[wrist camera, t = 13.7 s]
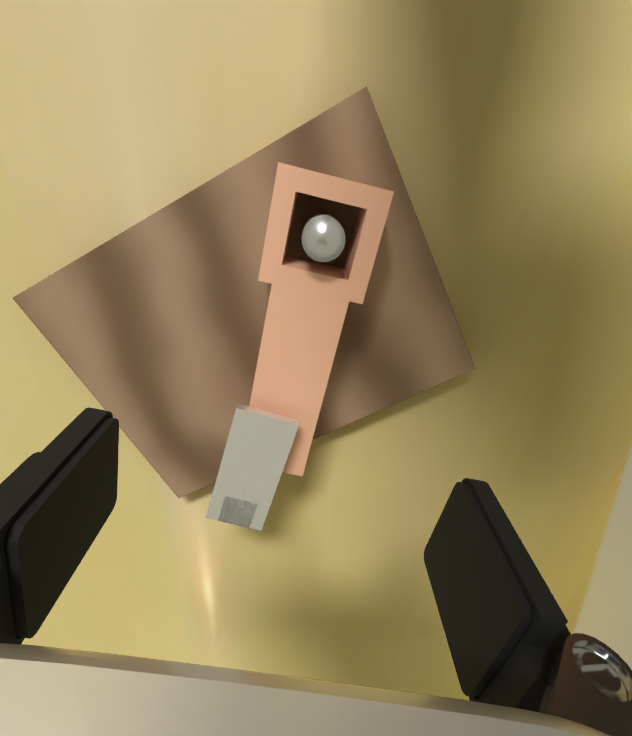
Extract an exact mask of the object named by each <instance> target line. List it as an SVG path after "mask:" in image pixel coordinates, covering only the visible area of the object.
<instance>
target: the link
mask: <svg viewBox="0 0 632 736" xmlns="http://www.w3.org/2000/svg"><path fill="white" fill-rule="evenodd" d="M298 192H300V193H304V194H308V195H312V196H316V197H320V198H324V199H328V200H332V201H336V202H340V203H344V204H348V205H352V206H356V207H359V210H358V214H357V218H356V222H355V226H354V230H353V234H352V237H351V241H350V245H349V249H348V253H347V257H346V261H345V265H344V269H343V268H339V267H335V266H330V265H326V264H322V263H318V262H313V261H309V260H305V259H300V258H296V257H292V256H287V255H286V252H287V247H288V242H289V237H290V232H291V227H292V221H293V216H294V211H295V206H296V201H297V196H298ZM393 194H394V191H390V190H386V189H382V188H378V187H374V186H370V185H366V184H362V183H358V182H354V181H350V180H346V179H343V178H339V177H335V176H331V175H327V174H323V173H319V172H315V171H311V170H307V169H303V168H299V167H295V166H292V165H288V164H284V163H280V162H278V166H277V172H276V178H275V184H274V190H273V196H272V202H271V207H270V213H269V219H268V225H267V231H266V237H265V243H264V248H263V254H262V260H261V266H260V272H259V278H258V281H262V282H266V283H271V284H272V286H271V291H270V296H269V302H268V307H267V313H266V318H265V323H264V329H263V334H262V340H261V345H260V350H259V356H258V361H257V367H256V372H255V378H254V383H253V388H252V394H251V399H250V405H249V407H253V408H257V409H260V410H264V411H267V412H271V413H275V414H278V415H282V416H286V417H289V418H293V419H297V420H299V427H298V430H297V432H296V435H295V438H294V441H293V444H292V446H291V449H290V452H289V455H288V458H287V460H286V463H285V466H284V469H283V472H282V473H287V474H292V475H298V476H303V473H304V469H305V465H306V462H307V458H308V454H309V450H310V447H311V443H312V439H313V435H314V432H315V428H316V424H317V420H318V417H319V413H320V409H321V405H322V402H323V398H324V394H325V390H326V387H327V383H328V379H329V375H330V372H331V368H332V364H333V360H334V357H335V353H336V349H337V345H338V342H339V338H340V334H341V330H342V327H343V323H344V319H345V315H346V312H347V308H348V304H349V301H350V302H355V303H359V304H363V301H364V297H365V293H366V290H367V286H368V283H369V279H370V276H371V272H372V269H373V265H374V261H375V258H376V254H377V251H378V247H379V244H380V240H381V236H382V233H383V229H384V226H385V222H386V219H387V215H388V212H389V208H390V204H391V201H392V197H393Z"/></svg>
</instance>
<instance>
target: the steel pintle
mask: <svg viewBox="0 0 632 736" xmlns="http://www.w3.org/2000/svg"><path fill="white" fill-rule="evenodd" d="M302 246H303V249H304V251H305V252H306V254H307V255H308V256H309V257H310V258H312V259H313V260H315V261H319V262H328V261H331V260H334V259H335V258H337V257H338V256H339V255H340V254H341V252H342V251H343V249H344V246H345V232H344V229H343V227H342V226H341V224H340V223H339V222H338V221H337V220H336V219H335V218H334V217H333V216H332V215H331V214H329V213H326V212H317V213H314V214H313V215H311V216H310V217H309V218H308V219H307V221H306V223H305V225H304V229H303V233H302Z"/></svg>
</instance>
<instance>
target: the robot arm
mask: <svg viewBox="0 0 632 736" xmlns="http://www.w3.org/2000/svg"><path fill="white" fill-rule="evenodd" d="M118 441H119V420H118V419H117V418H113V414H112V413H111V412H110V411H104V410H99V409H94V408H86V409H85V410H84V411H83V412H82V413H81V414H79V415H78V416H77V417H76V418H75V419H74V420H73V421H72V422H71V423H70V424H69V425H68V426H67V427H66V428H65V429H64V430H63V431H62V432H61V433H60V434H59V435H58V436H57V437H56V438H55V439H54V440H53V441H52V442H51V443H50V444H49V445H48V446H47V447H46V448H45V449H44V450H43V451H42V452H37V453H34V454H32V455H31V456H30V457H28V458H27V459H26V460H25V461H24V462H23V463H22V464H21V465H20V466H19V467H18V468H17V469H16V470H15V471H14V472H13V473H12V474H11V475H9V476H8V477H7V478H6V479H5V480H4V481H3V482H2V483H1V484H0V736H632V670H631V669H630V667H629V666H628V664H627V663H626V662H625V661H624V660H623V659H622V658H621V657H620V656H619V655H618V654H617V653H616V652H615V651H613V650H612V649H611V648H609V647H608V646H607V645H606V644H604V643H603V642H601V641H599V640H597V639H596V638H594V637H591V636H588V635H586V634H580V633H574V634H572V635H571V634H570V632H569V630H568V629H567V627H566V623H567V622H568V621H567V619H566V617H565V616H564V614H563V612H562V611H561V609H560V607H559V605H558V604H557V602H556V600H555V598H554V597H553V595H552V593H551V592H550V590H549V588H548V586H547V585H546V583H545V581H544V579H543V578H542V576H541V574H540V572H539V571H538V569H537V567H536V566H535V564H534V562H533V560H532V559H531V557H530V555H529V553H528V552H527V550H526V548H525V547H524V545H523V543H522V541H521V540H520V538H519V536H518V534H517V533H516V531H515V529H514V528H513V526H512V524H511V522H510V521H509V519H508V517H507V515H506V514H505V512H504V510H503V509H502V507H501V505H500V503H499V502H498V500H497V498H496V496H495V495H494V493H493V491H492V490H491V488H490V486H489V485H488V483H487V482H484V481H479V480H474V479H468V478H465V479H463V480H462V482H457V483H456V485H455V486H454V488H453V490H452V492H451V495H450V497H449V499H448V501H447V503H446V505H445V507H444V509H443V512H442V514H441V516H440V518H439V520H438V522H437V524H436V526H435V528H434V531H433V533H432V535H431V537H430V539H429V541H428V543H427V545H426V548H425V551H424V562H425V565H426V569H427V572H428V576H429V579H430V583H431V586H432V589H433V593H434V596H435V600H436V603H437V607H438V610H439V614H440V617H441V620H442V624H443V627H444V631H445V634H446V638H447V641H448V645H449V648H450V651H451V655H452V658H453V662H454V665H455V669H456V672H457V676H458V679H459V682H460V686H461V689H462V691H463V693H464V694H465V695H466V696H469V699H470V701H467V700H461V699H454V698H446V697H439V696H432V695H424V694H417V693H410V692H402V691H395V690H388V689H380V688H373V687H366V686H359V685H351V684H343V683H336V682H328V681H321V680H313V679H305V678H298V677H290V676H283V675H275V674H267V673H259V672H252V671H244V670H236V669H229V668H221V667H213V666H205V665H197V664H189V663H181V662H173V661H165V660H157V659H149V658H141V657H133V656H125V655H117V654H109V653H100V652H90V651H81V650H71V649H62V648H53V647H43V646H34V645H22V644H21V643H22V641H23V640H24V638H32V637H33V636H34V635H35V634H36V633H37V631H38V630H39V628H40V627H41V625H42V623H43V622H44V620H45V618H46V617H47V615H48V614H49V612H50V610H51V609H52V607H53V606H54V604H55V602H56V601H57V599H58V597H59V596H60V594H61V593H62V591H63V589H64V588H65V586H66V585H67V583H68V581H69V580H70V578H71V577H72V575H73V573H74V572H75V570H76V568H77V567H78V565H79V564H80V562H81V560H82V559H83V557H84V556H85V554H86V552H87V551H88V549H89V548H90V546H91V544H92V543H93V541H94V539H95V538H96V536H97V535H98V533H99V531H100V530H101V528H102V527H103V525H104V523H105V522H106V520H107V518H108V517H109V515H110V514H111V512H112V510H113V508H114V506H115V503H116V499H117V476H118Z"/></svg>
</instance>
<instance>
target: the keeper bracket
mask: <svg viewBox="0 0 632 736" xmlns="http://www.w3.org/2000/svg"><path fill="white" fill-rule="evenodd" d="M298 427H299V420H297V419H293V418H289V417H286V416H282V415H278V414H275V413H271V412H267V411H264V410H260V409H257V408H253V407H249V406H246V405H242V404H237V407H236V410H235V414H234V418H233V421H232V425H231V429H230V432H229V436H228V439H227V443H226V447H225V450H224V454H223V457H222V461H221V465H220V468H219V472H218V475H217V479H216V483H215V486H214V490H213V493H212V497H211V501H210V504H209V508H208V511H207V515H206V518H209V519H213V520H217V521H222V522H226V523H230V524H235V525H239V526H243V527H247V528H252V529H256V530H260V531H262V528H263V525H264V522H265V520H266V517H267V514H268V511H269V508H270V506H271V503H272V500H273V497H274V494H275V491H276V489H277V486H278V483H279V480H280V477H281V475H282V472H283V469H284V466H285V463H286V460H287V458H288V455H289V452H290V449H291V446H292V444H293V441H294V438H295V435H296V432H297V430H298Z"/></svg>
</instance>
